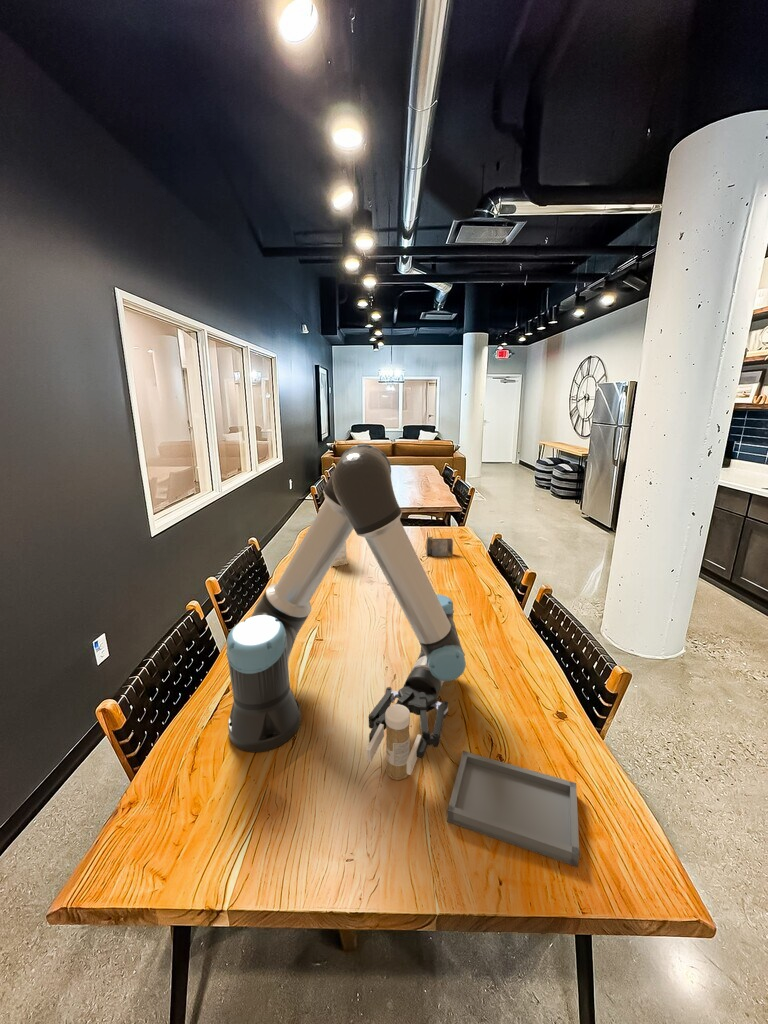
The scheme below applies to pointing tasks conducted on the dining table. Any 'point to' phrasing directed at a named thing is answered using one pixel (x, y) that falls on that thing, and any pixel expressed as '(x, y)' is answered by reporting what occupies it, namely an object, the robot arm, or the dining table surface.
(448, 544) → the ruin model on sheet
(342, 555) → the coffeecake box
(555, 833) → the tray
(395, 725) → the sprinkles bottle
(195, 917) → the dining table surface
